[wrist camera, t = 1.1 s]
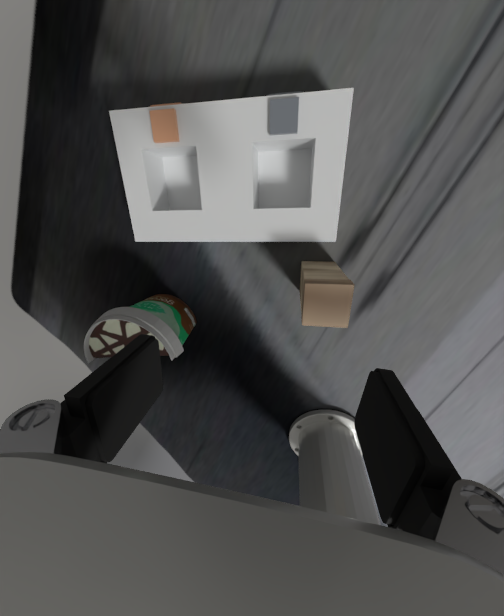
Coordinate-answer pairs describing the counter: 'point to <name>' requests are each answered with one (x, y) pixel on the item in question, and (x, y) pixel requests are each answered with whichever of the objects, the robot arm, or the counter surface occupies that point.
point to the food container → (141, 327)
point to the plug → (325, 294)
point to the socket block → (236, 167)
